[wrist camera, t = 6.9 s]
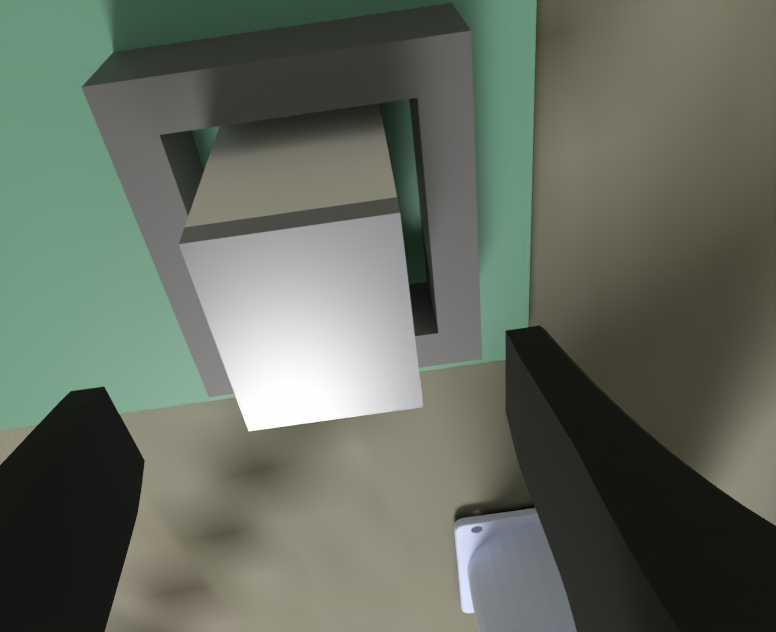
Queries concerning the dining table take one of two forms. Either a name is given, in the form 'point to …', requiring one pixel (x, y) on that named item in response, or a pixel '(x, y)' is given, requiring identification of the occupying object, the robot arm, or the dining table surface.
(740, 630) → the robot arm
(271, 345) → the plug
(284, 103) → the board
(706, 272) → the dining table surface
